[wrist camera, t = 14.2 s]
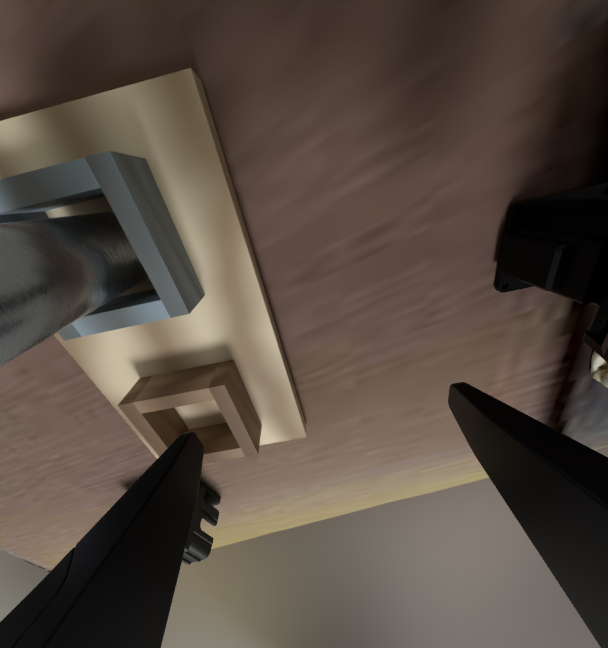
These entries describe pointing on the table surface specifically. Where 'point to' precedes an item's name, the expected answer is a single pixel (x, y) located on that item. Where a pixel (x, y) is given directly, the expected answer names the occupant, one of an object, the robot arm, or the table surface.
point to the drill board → (161, 264)
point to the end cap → (197, 539)
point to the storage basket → (599, 369)
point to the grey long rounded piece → (59, 275)
